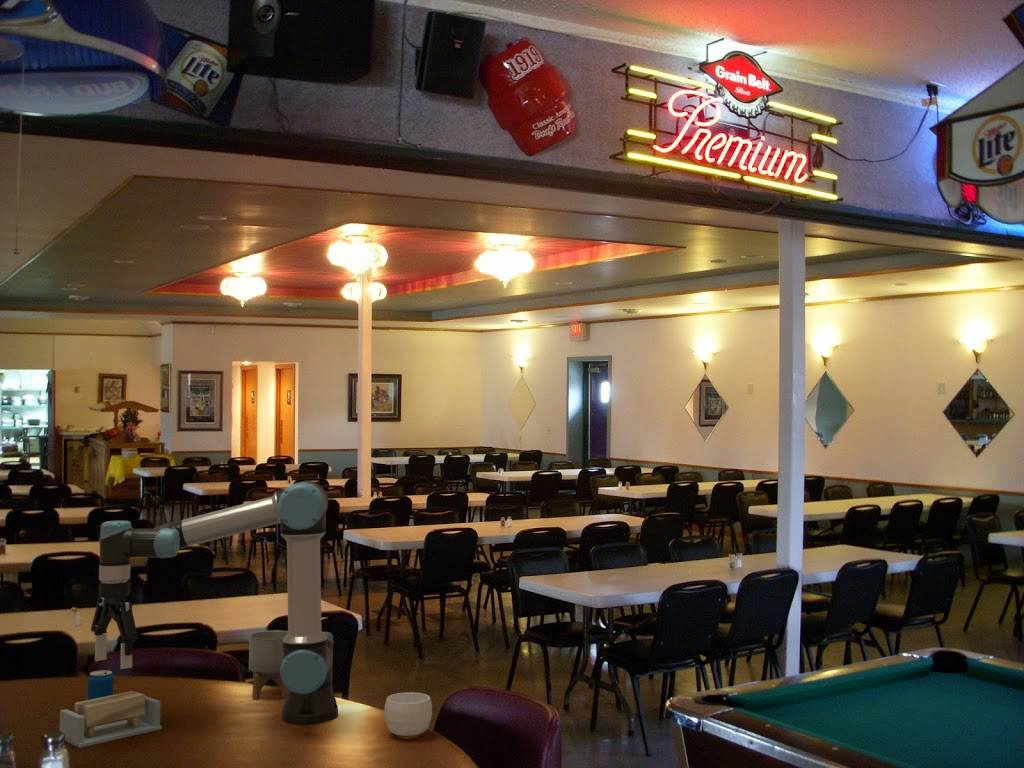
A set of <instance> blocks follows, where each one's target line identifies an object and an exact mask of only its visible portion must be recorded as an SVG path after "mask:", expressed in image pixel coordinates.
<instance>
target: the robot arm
mask: <svg viewBox="0 0 1024 768" xmlns="http://www.w3.org/2000/svg"><path fill="white" fill-rule="evenodd" d="M328 507H329V497H328V494H327V492H326V490H325V488H324V487H323V486H321V485H320V484H319V483H317V482H315V481H311V480H303V481H299V482H294V483H293V484H291V485H289V486H287V487H286V488H284V489H281V490H277V491H275V492H274V494H273V495H272V496H268V497H265V498H260V499H257V500H254V501H253V500H252V501H250V502H249V501H248V502H245V503H242V504H239V505H234V506H230V507H226V508H222V509H219V510H215V511H211V512H210V511H209V512H208V513H207V512H206V513H204V514H199V515H195V516H192V517H187V518H185V519H182V520H180V519H179V520H177V521H173V522H166V523H163V524H161V525H158V526H156V527H154V528H153V527H152V528H133V527H132V523H131V521H130V520H129V521H128V520H110V521H109V520H108V521H104V522H102V523H101V525H100V532H99V533H100V534H99V541H98V542H99V564H98V565H99V567H98V580H99V581H100V583H99V584H98V597H97V600H96V608H95V612H94V616H93V618H92V622H91V626H90V631H91V632H93V634H94V636H95V638H94V639H95V644H94V645H95V646H94V647H95V648H94V661H96V662H99V661H104V660H105V661H106V660H107V647H108V646H107V644H108V643H107V642H108V641H107V639H108V638H107V637H108V630H107V629H108V627H109V625H110V623H111V621H112V620H113V621H114V622H115V623H116V625H117V628H118V631H119V634H120V637H121V641H120V669H121V670H124V669H130V668H133V643H134V642H135V641H137V640H139V635H138V631H137V627H136V623H135V619H134V618H135V617H134V614H133V603H132V601H128V602H127V601H126V600H125V598H126V597H129V596H130V594H131V581H129V580H130V579H131V570H132V567H131V559H136V558H139V559H141V558H143V559H144V558H147V559H149V558H153V559H155V558H156V559H157V558H159V559H166V558H167V559H168V558H175V557H176V556H177V555H178V552H179V550H181V549H182V550H183V549H184V548H189V547H192V546H195V545H199V544H204V543H207V542H211V541H216V540H218V539H223V538H225V537H230V536H234V535H235V536H236V535H238V534H242V533H246V532H251V531H254V530H257V529H261V528H265V527H269V526H273V525H277V524H280V536H281V537H282V538H283V539H284V540H285V542H286V561H287V562H286V566H287V567H286V568H287V569H286V573H287V575H286V578H287V580H286V582H287V585H286V587H287V631H288V634H287V635H286V636H285V637H284V638H283V640H282V655H283V661H282V664H281V667H280V675H281V679H282V682H283V684H284V685H285V686H286V687H287V688H288V689H289V691H288V694H287V697H286V699H284V703H283V706H282V708H281V719H282V720H283V721H285V722H287V723H291V724H298V725H300V724H301V725H314V724H320V723H321V724H322V723H326V722H330V721H333V720H335V719H337V718H338V716H339V706H338V703H337V700H336V695H335V693H334V692H335V691H334V689H333V658H334V657H333V656H334V655H333V654H334V653H333V649H334V648H333V647H334V636H333V634H332V632H328V631H322V595H321V594H322V592H321V591H322V590H321V589H322V586H321V585H322V584H321V583H322V582H321V580H322V579H321V578H322V577H321V539H322V538H323V537H324V536H325V534H326V525H327V524H326V512H327V510H328V509H329V508H328Z"/></svg>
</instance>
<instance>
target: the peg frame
mask: <svg viewBox="0 0 1024 768" xmlns="http://www.w3.org/2000/svg"><path fill="white" fill-rule="evenodd" d="M161 703H162V702H161V700H158V699H155V698H152V697H150V696H147V695H145V714H143V715H138V716H134V717H130V718H126V719H123V720H118V721H113V722H108V723H104V724H99V725H95V726H91V727H84V724H85V717H84V716H82V715H79V714H77V713H75V711H71V709H70V710H69V709H60V710H59V732H63V733H64V734H65V741H64V742H66V741H67V742H66V743H68V744H69V745H73V746H74V747H77V748H83V747H84V748H85V747H89V746H92V745H99V744H103V743H106V742H111V741H116V740H120V739H124V738H129V737H135V736H138V735H142V734H147V733H151V732H155V731H160V730H163V726H162V725H161V707H162V706H161Z"/></svg>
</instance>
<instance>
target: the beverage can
mask: <svg viewBox="0 0 1024 768" xmlns="http://www.w3.org/2000/svg"><path fill="white" fill-rule="evenodd" d="M114 678H115V677H114V675H113V671H111V670H104V669H103V670H102V669H101V670H96V671H91V672H90V673H89V676H88V677H87V697H86V699H87V700H92V699H96V698H101V697H106V696H111V695H114ZM87 700H86V701H87Z"/></svg>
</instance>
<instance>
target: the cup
mask: <svg viewBox="0 0 1024 768" xmlns="http://www.w3.org/2000/svg"><path fill="white" fill-rule="evenodd" d="M383 709H384V713H383V714H384V715H383V718H384V721H385V722H384V723H385V724H386V727H387V729H388V730H389V732H391V733H392V734H395V735H396V737H397V738H399V739H404V740H408V739H410V740H411V739H415V738H418V737H419V736H420V735H421V734H423V733H425V732H426V730H428V728H429V727H430V725H431V724H430V723H431V720H432V716H433V715H432V714H433V704H432V699H431V696H430V695H428V694H426V693H422V692H413V691H411V692H398V693H393V694H390V695H388V696H387V698H386V701H385V705H384V708H383Z"/></svg>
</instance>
